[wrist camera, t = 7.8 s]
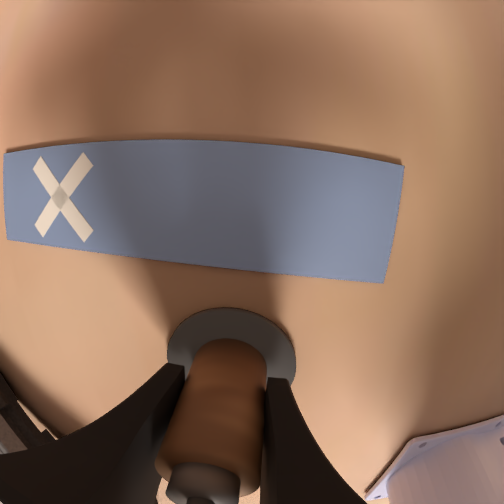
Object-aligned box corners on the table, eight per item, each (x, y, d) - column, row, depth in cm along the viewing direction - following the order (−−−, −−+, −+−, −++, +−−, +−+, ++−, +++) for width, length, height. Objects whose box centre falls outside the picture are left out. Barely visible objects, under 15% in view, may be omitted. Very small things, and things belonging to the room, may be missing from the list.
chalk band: (402, 166, 8) (404, 166, 8) (382, 281, 9) (383, 283, 9) (5, 153, 9) (3, 153, 9) (9, 238, 10) (6, 239, 10)
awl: (271, 342, 10) (262, 526, 4) (262, 396, 11) (250, 550, 4) (193, 333, 10) (122, 499, 4) (194, 387, 11) (147, 532, 5)
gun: (147, 507, 17) (84, 568, 7) (21, 328, 20) (-64, 348, 10) (176, 503, 16) (107, 579, 6) (33, 303, 19) (-66, 321, 9)
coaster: (306, 315, 10) (306, 319, 10) (285, 410, 11) (285, 415, 11) (166, 298, 10) (163, 302, 10) (173, 395, 12) (171, 399, 11)
